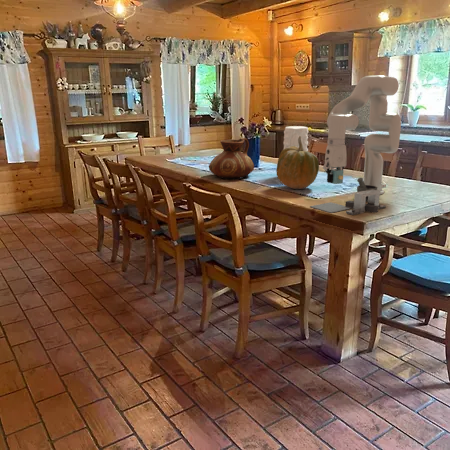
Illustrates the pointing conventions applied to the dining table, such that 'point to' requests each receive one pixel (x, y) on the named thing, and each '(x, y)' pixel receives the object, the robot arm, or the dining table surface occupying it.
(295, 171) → the pumpkin
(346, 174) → the dining table surface
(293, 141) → the vase
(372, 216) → the dining table surface
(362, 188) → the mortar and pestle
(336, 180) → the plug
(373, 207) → the lead
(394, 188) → the dining table surface
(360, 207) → the housing
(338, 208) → the mat
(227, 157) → the jug
